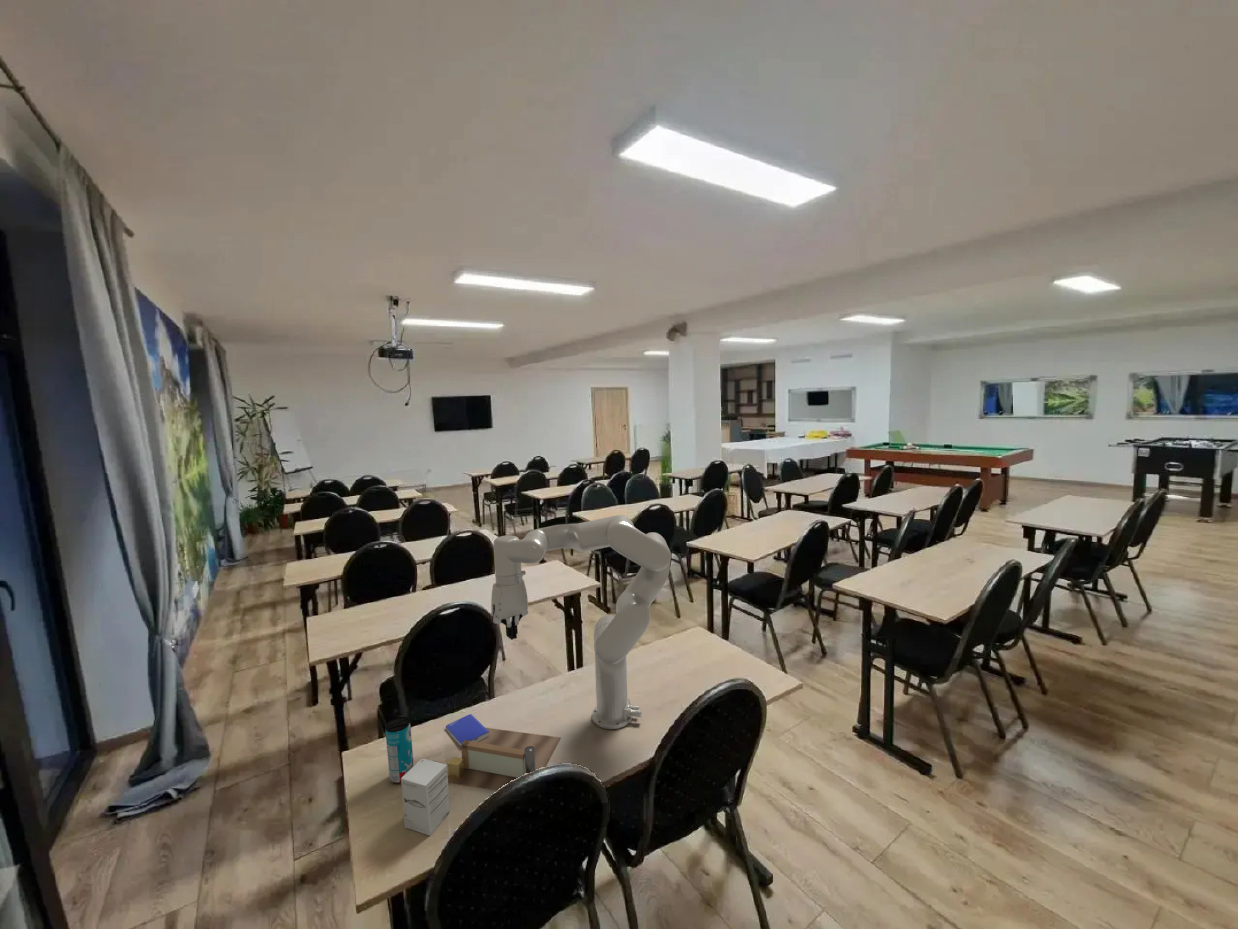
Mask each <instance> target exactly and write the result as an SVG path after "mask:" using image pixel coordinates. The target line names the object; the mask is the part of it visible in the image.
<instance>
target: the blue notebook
mask: <svg viewBox="0 0 1238 929" xmlns="http://www.w3.org/2000/svg"><path fill="white" fill-rule="evenodd" d="M486 728H487V727H485V726H484V725H483V724H482V723H481V722H480V721H479V720H478V719H477V718H476V717H475V716H474V715H473V714H472V713H469V714H467V715H465V716H463V717H461V718H459V719H457V720H454V721H453V722H450V723H448V724H446V725H445V729H446V732H448V733H449V735H451V737H452V738H453V739H454V741H456V743H457V744H458V745H459V746H460V747H461V744H462V743H463V742H464V740H468V741H474V742H478V741H480V740H482V739H484V738H486V737H488V736H489V735H490V733H489V731H488V730H487V729H486Z"/></svg>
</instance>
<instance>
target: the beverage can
mask: <svg viewBox="0 0 1238 929" xmlns="http://www.w3.org/2000/svg"><path fill="white" fill-rule="evenodd" d="M410 719H411V718H409V717H406V716H398V717H394V718H393V719H390V720H389V721H387V723H386V724H385V726H384V729H385V741H386V752H387V761H388V764H387V765H388V774H389V781H390V782H391V783H392V784H394V785H402V784H401V778H402V777H403V776H404V775H405V774H406V773H407V772H408V771H409V770H410V769H411V768H412V767H413V766H415V764H414V753H413V741H412V728H411V720H410Z"/></svg>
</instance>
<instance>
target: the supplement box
mask: <svg viewBox="0 0 1238 929" xmlns="http://www.w3.org/2000/svg"><path fill="white" fill-rule="evenodd" d="M400 785H401V794H402V795H401V798H402V807H403V821H404V828H405V829H409V830H413V831H416V832H418V833H421V834H423V835H425V836H431V835H432V834H433V833H434V832H435V831H436V829H437V828H438V827H439V826H440V825H441V824H442V822H443V821H444V820H445V819H446V817H447V816H448V815H449V814H450V811H451V810H450V809H451V808H450V795H449V794H450V792H449V783H448V765H447V763H442V762H438V761H434V760H430V759H427V758H424V757H423V758H421V759H419V760H418V761H417V762H416V763H415V764H414V766H413V767H412V768H411V769H410V770H409V771H408V772H407V773H406V774H405V775H404V776H403V777H402V778H401V784H400Z"/></svg>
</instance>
